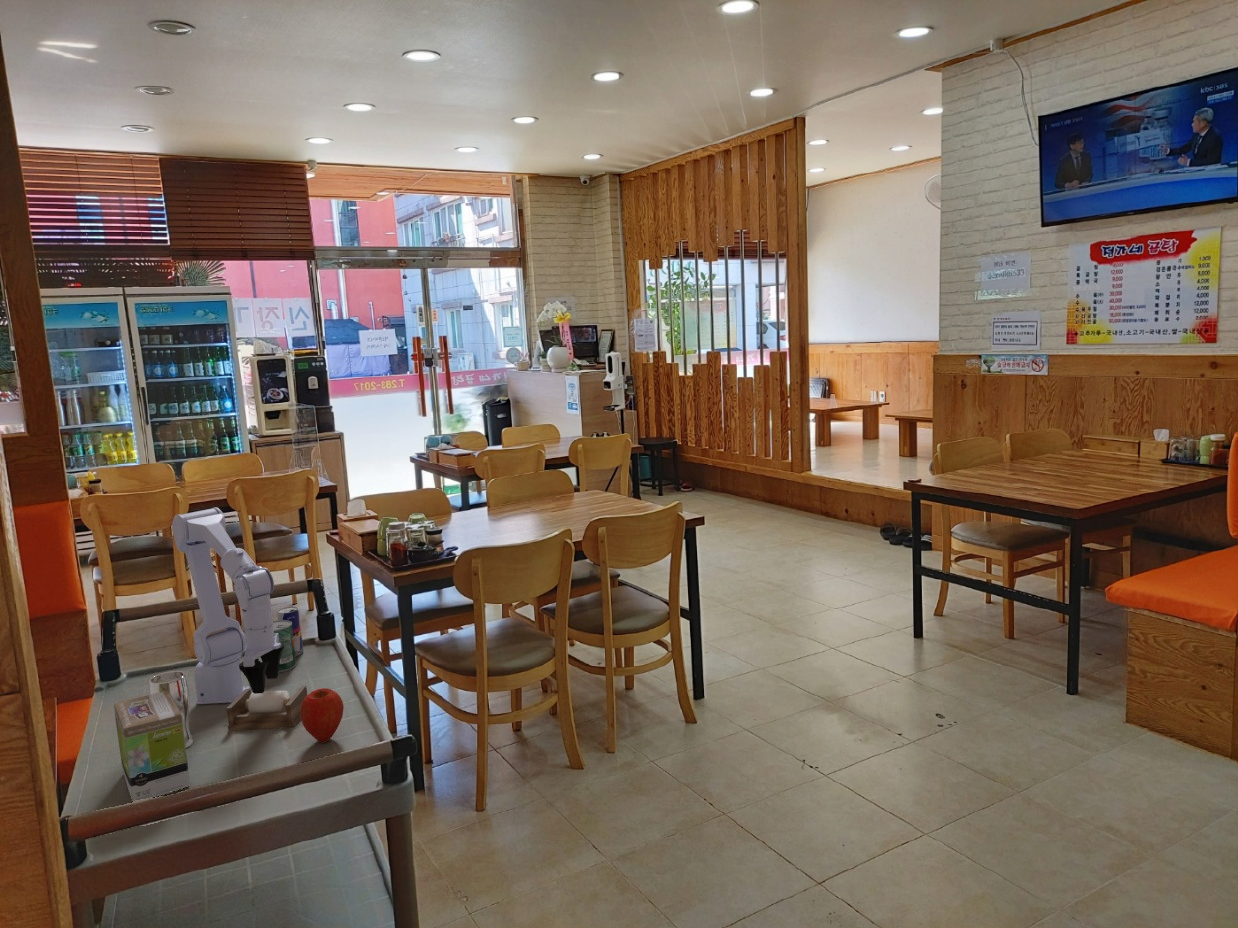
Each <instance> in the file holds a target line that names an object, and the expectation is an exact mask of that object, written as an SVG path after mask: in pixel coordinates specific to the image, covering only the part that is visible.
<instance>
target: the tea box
mask: <svg viewBox="0 0 1238 928" xmlns="http://www.w3.org/2000/svg"><path fill="white" fill-rule="evenodd" d="M113 706H114V707H113V708H114V717H115V723H116V731H117V738H118V746H119V752H120V760H121V769H122V773H123V775H124V779H125V782H126V785H127V789H128V793H129V796H131V797H130V799H132V800H131V802H132V801H135V800H140V799H146V798H150V797H154V796H159V797H162V796H166V795H168V794H172V793H173V792H170V791H175V790H177V791H175V792H178V789H181V790H184V789H183V787H187V786H189V787H190V786H191V785H190V784H191V781H190V779H191V778H190V772H189V764H188V756H187V748H186V746H185V738H184V729H183V721H182V715H181V713H180V710H179V708H178V707H177V705H176V703H175V701H174V699H173V697H172V695H171V694H170V692H169V691H164V692H159V693H155V694H151V695H150V694H148V695H144V696H143V695H142V696H139V697H135V698H131V699H127V700H122V701H119V702H115V703H114V705H113ZM181 790H180V791H181ZM165 794H166V795H165ZM161 795H162V796H161Z"/></svg>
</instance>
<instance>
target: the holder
mask: <svg viewBox="0 0 1238 928" xmlns="http://www.w3.org/2000/svg"><path fill="white" fill-rule="evenodd" d="M307 689H308V688H307V685H301V686H300V687H299V688H298V690H297V691H296V692H295V693H294V695H293V696H291V697H292V698H291V699H290V700H289V702H288V703H287V704H286V705H285V706H286V712H284V713H264V714H250V713H249V710H247V709H246V707H245V703H246V700H247V699H249V697H250V695H251V693H252V689H251V688H250V689H245V690H244V691H243V692H242V693H241V694H240V695H239V696H238V697H237V698H236V699H235V700H234V701H233V702H231V703H230V704H229V705H228V706H227V707H226V713H227V722H228V725H227V730H228V731H243V730H263V729H264V730H265V729H280V728H281V729H282V728H294V727H295V726H296V725H297V724H298V723H299V721H301V717H300V711H301V705H302V702H303V700H304V698H305V697H306V696H307V695H308V690H307Z"/></svg>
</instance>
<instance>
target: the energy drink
mask: <svg viewBox="0 0 1238 928" xmlns="http://www.w3.org/2000/svg"><path fill="white" fill-rule="evenodd" d="M276 616H277V621H278V620H287V621H291V622H292V629H293V639H294V648H295V657H297V656H300V655H302V654H303V652H304V645H303V636H302V635H303V634H302V627H301V618H300V617H301V616H300V611H299V608H298V607H296V606H287V607H282V608H279V609H278V610H277V614H276Z"/></svg>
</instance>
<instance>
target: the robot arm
mask: <svg viewBox="0 0 1238 928" xmlns="http://www.w3.org/2000/svg"><path fill="white" fill-rule="evenodd" d="M224 515H225V514H224V512H223V511H222V510H221V509H220V508H219V507H215V506H214V507H212V508H209V509H203V510H197V511H193V512H187V513H183V514H179V513H178V514H176V515H174V517H173V519H172V524H171V531H172V534H173V539H174V542H175V546H176V547H177V551H178V552H181V553H184V554H185V557H186V560H187V565H188V568H189V571H190V576H191V580H192V583H193V587H194V591H195V595H196V599H197V603H198V606H199V610H200V615H201V619H202V623H201V624H200V625H199V626H198V628H196V630H195V632H194V633H193V635H192V636H193V637H192V638H193V642H194V645H193V649H194V650H193V651H194V654H195V657H196V659H197V661H198V663H197V664H196V666H195V668H194V675H193V676H194V684H195V691H196V692H195V693H196V700H197V701H196V702H195V704H196V705H206V704H207V705H208V704H211V705H212V704H226V703H227V704H228V703H230V704H231V703H232V702H233V701H234V700H235V699H236V698H237V697H238V696H239V695H240V694H241V693H242V692H243V691H244V690H245V689H250V690H251V692H252V693H254V694H259V693H264V692H265V690H266V679H267V680H273V679H275V680H276V679H278V677H279V673H280V672H279V664H280V658H281V655H282V652H283V649H284V644H281V643H277V642H279V636H278V633H274V628H273V619H274V618H273V613H272V604H271V603H272V602H271V596H270V595H271V594H273V592H274V589H275V581H274V578H273V576H272V574H271V571H270V570H269V569H268V568H267V567H262V565H259V566H258V565H257V564H256V563H255V562H254V560H253V559H252V558H251V556H250V555H249V554H248V553H247V552H246V550H244V548H241V547H236V545H235V544H234V542H233V540H232V538H231V537H230V536H229V534H228V532H227V529H226V527H227V526H226V519H225V516H224ZM211 549H212V550H213V551H214V552H215V553H216V555H218V556H219V557H220V567H221V568H222V570H224V572H225V573H226V574H227V576H228V577H229V579H231V581H232V582H233V584H234V585H233V591H234V592H235V595H236V597H237V600H238V605H239V608H241V610H242V619H243V627H244V632H243V630H242V628H241V625H240V622H239V621H238V620H236V619H233V618H231V617H229V616H227V615H226V611H225V606H224V603H223V599H222V596H221V595H222V594H221V591H220V587H219V584H218V580H217V576H216V572H215V569H214V565H213V564H214V563H213V561H212V557H211V553H210V550H211ZM221 630H222V631H221ZM218 631H220V632H218ZM215 632H216V633H215ZM244 652H245V653H244ZM243 653H244V656H243ZM241 658H242V661H241V660H240V659H241ZM259 659H261V660H259ZM278 672H279V673H278ZM242 673H243V676H245V678H246V679H247V682H248V684H249V685H248V686H244V685H243V676H242Z"/></svg>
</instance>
